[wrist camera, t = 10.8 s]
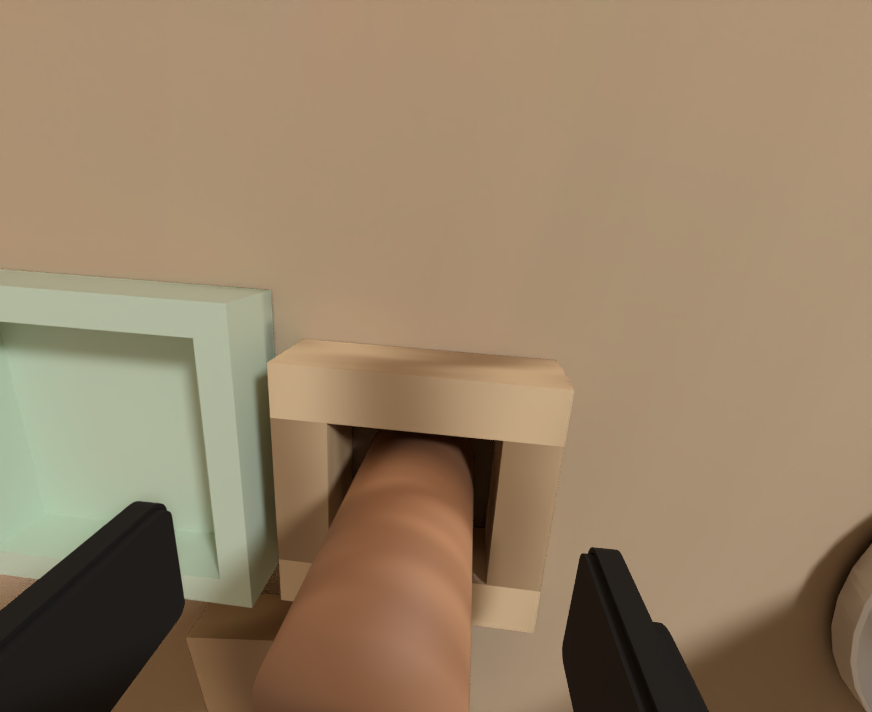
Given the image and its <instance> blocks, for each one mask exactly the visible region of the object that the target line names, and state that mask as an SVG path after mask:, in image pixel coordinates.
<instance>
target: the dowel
mask: <svg viewBox="0 0 872 712" xmlns="http://www.w3.org/2000/svg"><path fill="white" fill-rule="evenodd" d="M473 493H474V456H473V452H472V448H471V446H470V443H469V442H468V440H467V438H466V437H459V436H449V435H439V434H429V433H419V432H409V431H399V430H389V429H380V430H379V431H378V433H377V434H376V436H375V437H374V439H373V441H372V443H371V445H370V447H369V449H368V451H367V453H366V455H365V457H364V459H363V461H362V463H361V466H360V468H359V470H358V472H357V474H356V476H355V478H354V480H353V482H352V484H351V486H350V488H349V490H348V492H347V494H346V496H345V498H344V500H343V502H342V504H341V506H340V508H339V510H338V512H337V514H336V516H335V518H334V520H333V522H332V524H331V526H330V528H329V530H328V532H327V534H326V536H325V538H324V540H323V542H322V544H321V546H320V548H319V550H318V552H317V554H316V556H315V559H314V561H313V563H312V565H311V567H310V569H309V571H308V573H307V575H306V577H305V579H304V581H303V583H302V585H301V587H300V589H299V591H298V593H297V595H296V597H295V599H294V601H293V603H292V605H291V607H290V609H289V611H288V613H287V615H286V617H285V619H284V621H283V623H282V625H281V627H280V629H279V631H278V633H277V635H276V637H275V639H274V641H273V643H272V645H271V647H270V650H269V652H268V654H267V656H266V658H265V660H264V662H263V664H262V666H261V668H260V670H259V672H258V674H257V676H256V679H255V681H254V685H253V690H252V706H253V712H470V657H471V602H472V548H473Z"/></svg>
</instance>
